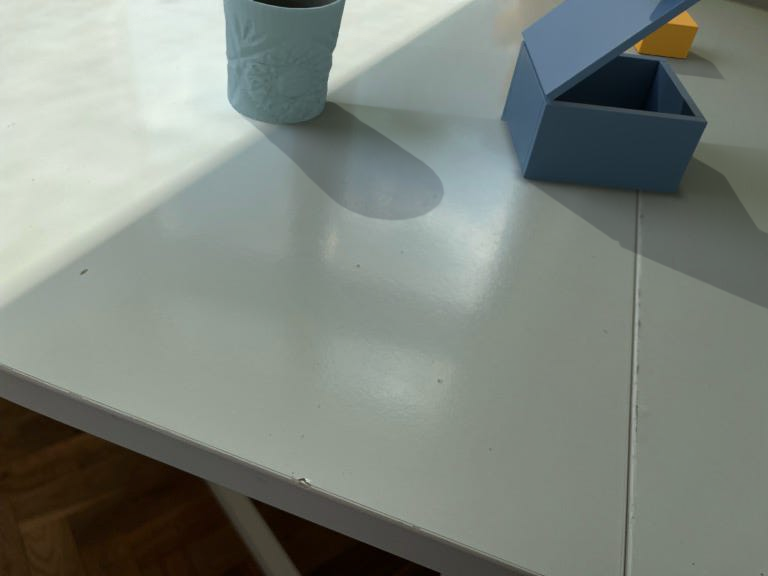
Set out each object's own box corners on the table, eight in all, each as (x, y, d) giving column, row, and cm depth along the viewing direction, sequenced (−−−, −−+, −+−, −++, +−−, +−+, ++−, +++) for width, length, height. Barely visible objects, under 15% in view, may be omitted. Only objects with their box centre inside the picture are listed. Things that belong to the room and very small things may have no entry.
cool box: (633, 136, 78) (665, 57, 72) (669, 205, 69) (708, 122, 63) (500, 121, 76) (522, 40, 70) (519, 190, 67) (546, 104, 62)
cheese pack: (674, 42, 97) (686, 11, 94) (685, 59, 94) (699, 27, 91) (627, 36, 96) (639, 5, 94) (637, 53, 93) (650, 20, 90)
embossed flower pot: (254, 74, 76) (258, -53, 68) (350, 104, 74) (366, -22, 66) (200, 119, 68) (197, -17, 61) (305, 154, 67) (317, 18, 59)
